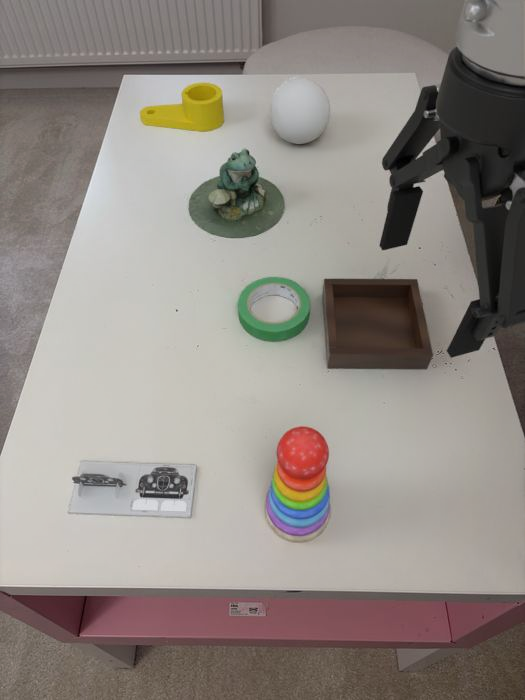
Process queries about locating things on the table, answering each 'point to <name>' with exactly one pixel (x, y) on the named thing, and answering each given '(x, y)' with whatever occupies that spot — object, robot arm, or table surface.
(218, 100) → the crank
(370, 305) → the square tray
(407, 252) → the table surface
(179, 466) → the car cutout
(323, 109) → the decorative ball
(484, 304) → the robot arm
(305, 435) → the stacking toy
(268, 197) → the frog figurine
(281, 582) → the table surface
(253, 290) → the tape roll
